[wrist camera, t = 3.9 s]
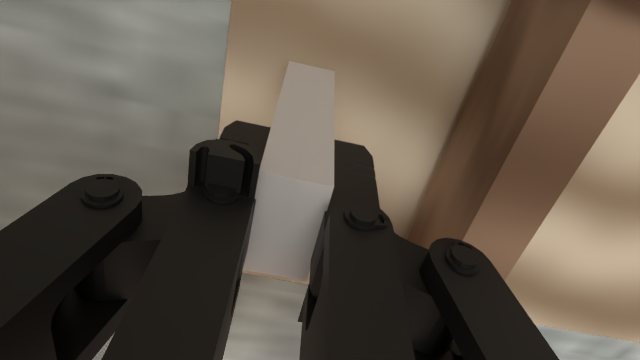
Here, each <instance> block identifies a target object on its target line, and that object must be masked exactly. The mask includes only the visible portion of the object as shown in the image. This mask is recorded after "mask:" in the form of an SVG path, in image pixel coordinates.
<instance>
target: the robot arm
mask: <svg viewBox="0 0 640 360" xmlns="http://www.w3.org/2000/svg"><path fill="white" fill-rule="evenodd" d="M334 124H335V71H332V70H327V69H323V68H318V67H314V66H310V65H305V64H301V63H296V62H292V61H289V63H288V67H287V70H286V74H285V78H284V81H283V85H282V89H281V92H280V96H279V100H278V103H277V107H276V111H275V114H274V118H273V122H272V125H271V127H266V126H262V125H257V124H252V123H247V122H243V121H238V120H236V121H234V122H232V123H231V124H229V125H228V126H226V127H224V129H223V131H222V134H221V136H220V139H216V140H206V141H204V142H201V143H198V144H196V145H195V146H194V147H193V148H192V149H191V150H190V157H189V173H188V186H187V188H186V190H185V191H184V192H181V193H177V194H173V195H164V196H142V190H141V188H140V187H139V186H138V184H137V183H136V182H134V181H132V180H130V179H129V178H127V177H123V176H118V175H114V174H96V175H92V176H87V177H83V178H80V179H78V180H76V181H74V182H72V183H70V184H69V185H67V186H66V187H64V188H63V189H61V190H60V191H58V192H57V193H55V194H54V195H52V196H51V197H49V198H48V199H46V200H45V201H43V202H42V203H41V204H39V205H38V206H36V207H35V208H33V209H32V210H30V211H29V212H27V213H26V214H24V215H23V216H21V217H20V218H18V219H17V220H15V221H14V222H12V223H11V224H10V225H8V226H7V227H5V228H4V229H2V230H1V231H0V360H92V359H93V358H94V356H95V355H96V354H97V353H98V352H99V350H100V349H101V348H102V347H103V346H104V344H105V343H106V342H107V341H108V340H109V338H110V337H111V336H112V335H113V334H114V332H115V331H116V332H115V334H114V336H113V338H112V340H111V342H110V344H109V346H108V348H107V350H106V352H105V354H104V356H103V358H102V360H222V359H223V355H224V350H225V346H226V342H227V338H228V334H229V329H230V325H231V321H232V317H233V313H234V308H235V304H236V300H237V296H238V292H239V287H240V281H241V275H242V270H247V271H252V272H258V273H264V274H269V275H275V276H280V277H286V278H292V279H297V280H303V281H307V278H308V275H309V271H310V278H309V285H308V289H307V292H306V295H305V299H304V302H303V305H302V309H301V312H300V315H299V319H298V322H302V334H301V346H300V359H299V360H559V359H558V357H557V356H556V354H555V353H554V351H553V350H552V349H551V347H550V346H549V344H548V343H547V341H546V340H545V338H544V337H543V336H542V334H541V333H540V331H539V330H538V328H537V327H536V326H535V324H534V323H533V321H532V320H531V318H530V317H529V316H528V314H527V313H526V311H525V310H524V308H523V307H522V305H521V304H520V303H519V301H518V300H517V298H516V297H515V295H514V294H513V293H512V291H511V290H510V288H509V287H508V285H507V284H506V282H505V281H504V280H503V278H502V277H501V275H500V274H499V272H498V271H497V270H496V268H495V267H494V265H493V264H492V262H491V261H490V260H489V259H488V258H487V257H486V256H485V255H484V253H483V252H481V251H480V250H478V249H477V248H476V247H474V246H473V245H471V244H469V243H467V242H464V241H461V240H459V239H453V238H441V239H437V240H435V241H434V242H433V243H431V245H430V247H429V249H426V248H424V247H422V246H419V245H417V244H415V243H412V242H410V241H408V240H406V239H404V238H402V237H400V236H399V235H397V234H396V233H395V232H394V230H393V225H392V223H391V220H390V218H389V217H388V216H387V215H386V214H385V212H384V211H383V210H381V209H380V205H379V198H378V191H377V183H376V179H375V177H376V176H375V170H374V162H373V157H372V155H371V154H370V153H369V151H368V150H367V149H366V147H365V146H363V145H358V144H354V143H349V142H344V141H339V140H335V139H334Z"/></svg>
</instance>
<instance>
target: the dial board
mask: <svg viewBox="0 0 640 360" xmlns="http://www.w3.org/2000/svg"><path fill="white" fill-rule="evenodd" d="M511 2H512V0H232V2H231V12H230V22H229V33H228V43H227V53H226V63H225V73H224V83H223V93H222V103H221V113H220V123H219V133H218V139H220V136H221V134H222V131H223V129H224V127H226V126H228V125H229V124H231V123H232V122H234V121H236V120H238V121H243V122H247V123H252V124H257V125H262V126H266V127H271V125H272V122H273V118H274V114H275V111H276V107H277V103H278V100H279V96H280V92H281V89H282V85H283V81H284V78H285V74H286V70H287V67H288V63H289V61H292V62H296V63H301V64H305V65H310V66H314V67H318V68H323V69H327V70H332V71H335V124H334V139H335V140H339V141H344V142H349V143H354V144H358V145H363V146H365V147H366V149H367V150H368V151H369V153H370V154H371V155H372V157H373V162H374V170H375V176H376V177H375V179H376V183H377V191H378V198H379V205H380V209H381V210H383V211H384V212H385V214H386V215H387V216H388V217H389V218H390V220H391V223H392V225H393V230H394V232H395V233H396V234H397V235H399V236H400V237H402V238H404V239H406V240H407V238H408V236H409V234H410V231H411V229H412V227H413V224H414V222H415V220H416V218H417V215H418V213H419V211H420V209H421V206H422V204H423V202H424V199H425V197H426V195H427V193H428V190H429V188H430V186H431V184H432V181H433V179H434V177H435V174H436V172H437V170H438V168H439V165H440V163H441V161H442V159H443V156H444V154H445V152H446V149H447V147H448V145H449V143H450V140H451V138H452V136H453V134H454V131H455V129H456V127H457V124H458V122H459V120H460V118H461V115H462V113H463V111H464V109H465V106H466V104H467V102H468V99H469V97H470V95H471V93H472V90H473V88H474V86H475V84H476V81H477V79H478V77H479V74H480V72H481V70H482V68H483V65H484V63H485V61H486V59H487V56H488V54H489V52H490V49H491V47H492V45H493V43H494V40H495V38H496V36H497V34H498V31H499V29H500V27H501V24H502V22H503V20H504V18H505V15H506V13H507V11H508V9H509V6H510V4H511ZM242 273H245V274H250V275H256V276H262V277H268V278H273V279H279V280H285V281H290V282H296V283H302V284H308V285H309V278H310V271H309V275H308V278H307V281H303V280H297V279H292V278H286V277H280V276H275V275H269V274H264V273H258V272H252V271H247V270H242ZM505 282H506V284H507V285H508V287H509V288H510V290H511V291H512V293H513V294H514V295H515V297H516V298H517V300H518V301H519V303H520V304H521V305H522V307H523V308H524V310H525V311H526V313H527V314H528V316H529V317H530V318H531V320H532V321H533V323H534V324H536V325H542V326H547V327H553V328H559V329H565V330H570V331H576V332H582V333H587V334H593V335H599V336H605V337H610V338H616V339H622V340H627V341H633V342H639V343H640V74H639V76H638V77H637V79H636V80H635V82H634V83H633V85H632V86H631V88H630V89H629V91H628V92H627V94H626V95H625V97H624V99H623V100H622V102H621V103H620V105H619V106H618V108H617V109H616V111H615V112H614V114H613V115H612V117H611V118H610V120H609V121H608V123H607V125H606V126H605V128H604V129H603V131H602V132H601V134H600V135H599V137H598V138H597V140H596V141H595V143H594V144H593V146H592V148H591V149H590V151H589V152H588V154H587V155H586V157H585V158H584V160H583V161H582V163H581V164H580V166H579V167H578V169H577V170H576V172H575V174H574V175H573V177H572V178H571V180H570V181H569V183H568V184H567V186H566V187H565V189H564V190H563V192H562V193H561V195H560V196H559V198H558V200H557V201H556V203H555V204H554V206H553V207H552V209H551V210H550V212H549V213H548V215H547V216H546V218H545V219H544V221H543V223H542V224H541V226H540V227H539V229H538V230H537V232H536V233H535V235H534V236H533V238H532V239H531V241H530V242H529V244H528V245H527V247H526V249H525V250H524V252H523V253H522V255H521V256H520V258H519V259H518V261H517V262H516V264H515V265H514V267H513V268H512V270H511V271H510V273H509V275H508V276H507V278H506V279H505Z"/></svg>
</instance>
